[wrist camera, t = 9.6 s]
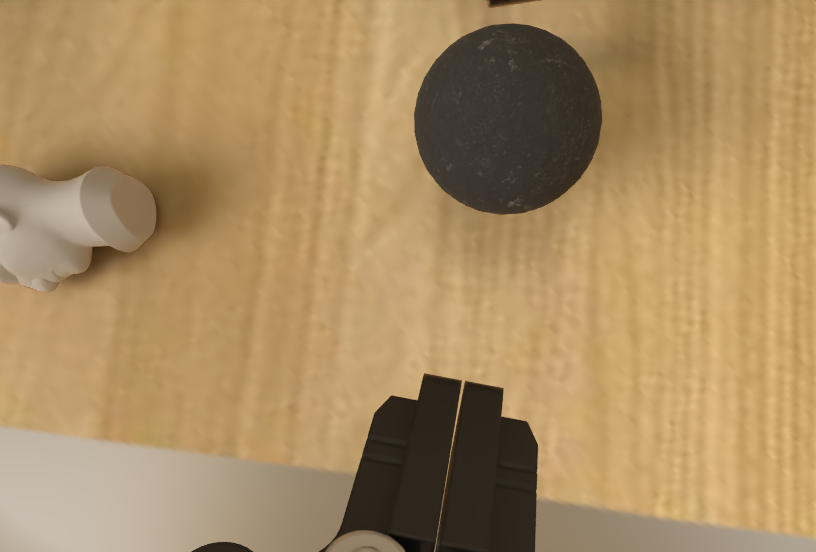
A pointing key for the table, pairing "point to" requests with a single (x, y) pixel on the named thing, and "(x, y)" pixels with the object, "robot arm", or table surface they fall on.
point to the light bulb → (508, 118)
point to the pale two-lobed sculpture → (67, 222)
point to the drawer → (506, 2)
